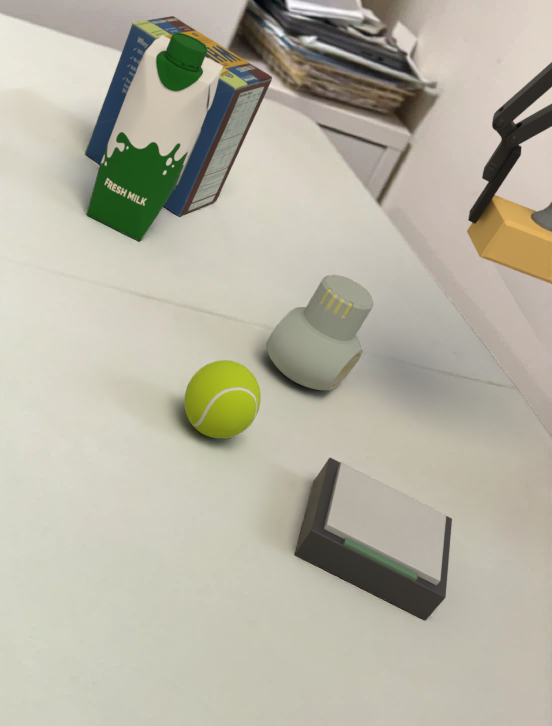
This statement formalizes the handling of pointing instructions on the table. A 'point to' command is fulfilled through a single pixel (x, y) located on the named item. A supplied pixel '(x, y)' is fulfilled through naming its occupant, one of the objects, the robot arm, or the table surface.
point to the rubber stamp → (515, 237)
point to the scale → (377, 538)
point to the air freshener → (322, 334)
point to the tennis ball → (222, 399)
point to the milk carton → (154, 133)
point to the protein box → (220, 127)
